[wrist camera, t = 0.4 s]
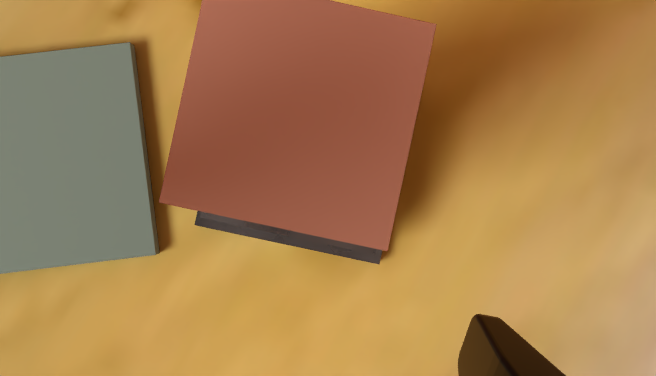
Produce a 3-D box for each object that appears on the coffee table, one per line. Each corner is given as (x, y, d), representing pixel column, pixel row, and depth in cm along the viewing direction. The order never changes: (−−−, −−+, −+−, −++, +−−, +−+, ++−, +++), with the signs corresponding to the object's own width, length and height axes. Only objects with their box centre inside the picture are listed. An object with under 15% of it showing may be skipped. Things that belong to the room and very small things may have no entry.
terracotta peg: (346, 214, 23) (387, 250, 10) (245, 192, 23) (158, 202, 10) (368, 112, 23) (436, 24, 10) (267, 90, 23) (207, -28, 10)
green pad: (159, 252, 24) (155, 254, 23) (-50, 278, 24) (-60, 281, 23) (134, 46, 24) (129, 42, 23) (-77, 69, 24) (-87, 66, 23)
